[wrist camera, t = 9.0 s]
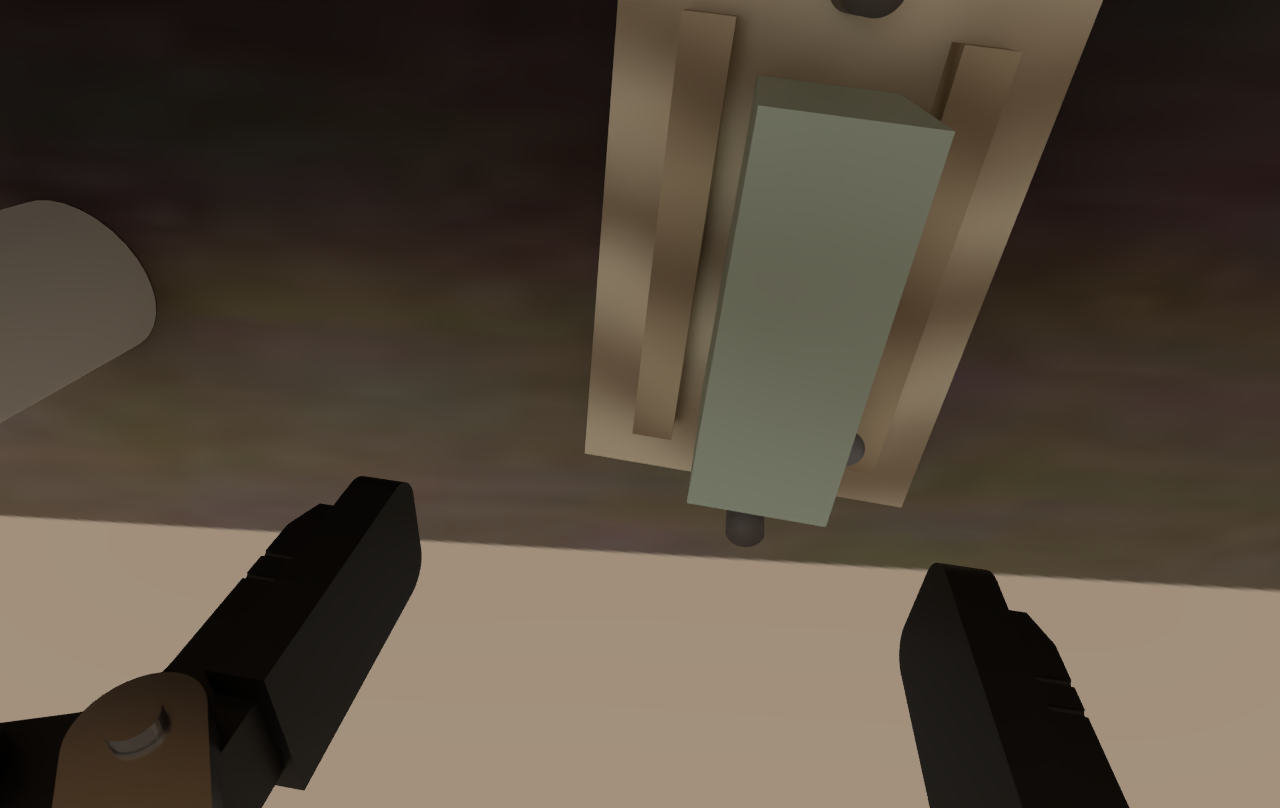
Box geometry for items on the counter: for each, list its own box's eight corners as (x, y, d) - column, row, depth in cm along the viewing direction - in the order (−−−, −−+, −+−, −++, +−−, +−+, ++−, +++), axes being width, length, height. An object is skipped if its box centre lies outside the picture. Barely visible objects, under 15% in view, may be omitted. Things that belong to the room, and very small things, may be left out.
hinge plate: (631, -94, 21) (590, -124, 16) (1101, -41, 20) (1224, -54, 15) (590, 438, 31) (557, 527, 26) (896, 490, 30) (925, 593, 25)
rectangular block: (757, 75, 22) (758, 105, 16) (937, 98, 21) (1006, 138, 15) (701, 395, 28) (686, 502, 22) (839, 417, 28) (861, 533, 22)
